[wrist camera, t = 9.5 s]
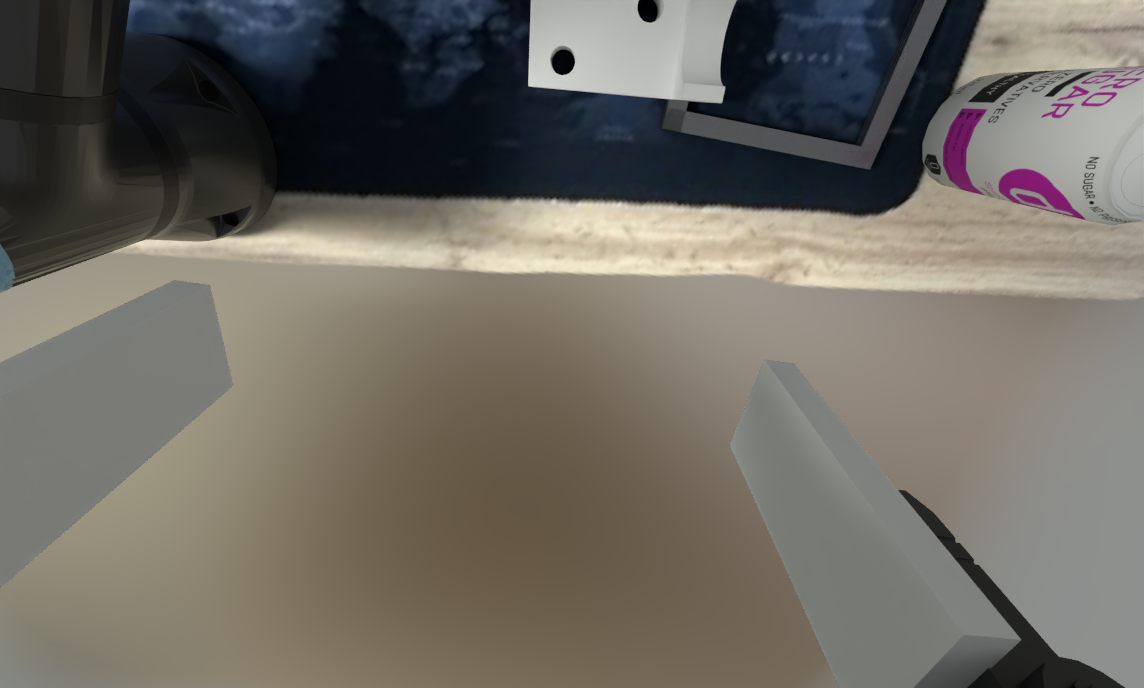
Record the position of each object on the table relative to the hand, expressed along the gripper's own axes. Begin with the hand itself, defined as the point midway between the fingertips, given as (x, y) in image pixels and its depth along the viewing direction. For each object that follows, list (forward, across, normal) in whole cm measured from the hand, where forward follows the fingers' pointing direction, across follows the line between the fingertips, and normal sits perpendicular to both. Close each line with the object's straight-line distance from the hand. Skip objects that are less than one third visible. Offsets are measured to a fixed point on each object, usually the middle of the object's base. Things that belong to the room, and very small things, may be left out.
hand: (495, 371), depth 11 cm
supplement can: (+31, +33, +8) cm, 47 cm away
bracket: (+32, +4, +10) cm, 34 cm away
